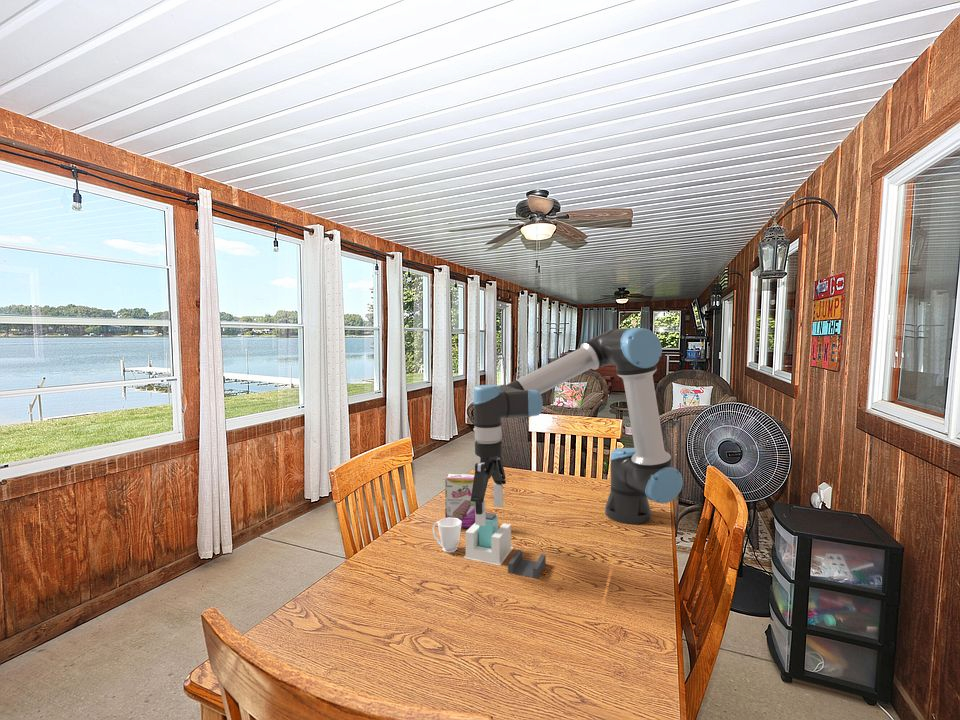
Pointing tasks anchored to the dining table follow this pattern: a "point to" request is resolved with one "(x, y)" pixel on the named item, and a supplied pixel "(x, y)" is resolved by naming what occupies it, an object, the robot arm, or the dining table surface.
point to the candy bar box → (460, 498)
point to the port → (498, 545)
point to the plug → (488, 530)
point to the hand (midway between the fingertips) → (490, 515)
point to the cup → (448, 533)
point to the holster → (526, 565)
